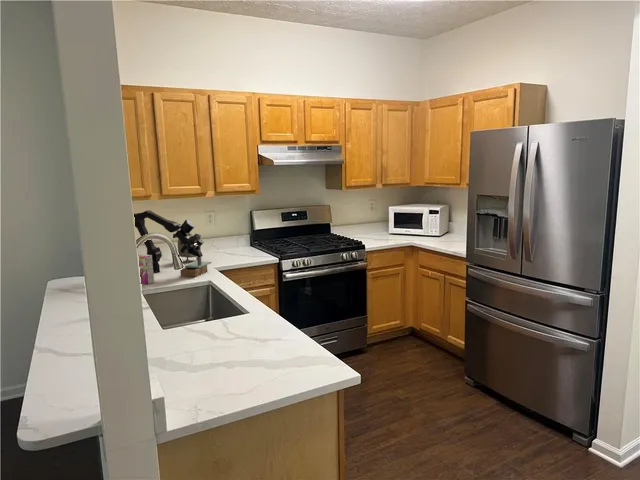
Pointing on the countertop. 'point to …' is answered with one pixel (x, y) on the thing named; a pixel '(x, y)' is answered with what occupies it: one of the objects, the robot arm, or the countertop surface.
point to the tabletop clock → (185, 250)
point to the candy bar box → (146, 269)
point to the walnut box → (193, 271)
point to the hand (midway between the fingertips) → (201, 256)
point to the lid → (198, 262)
